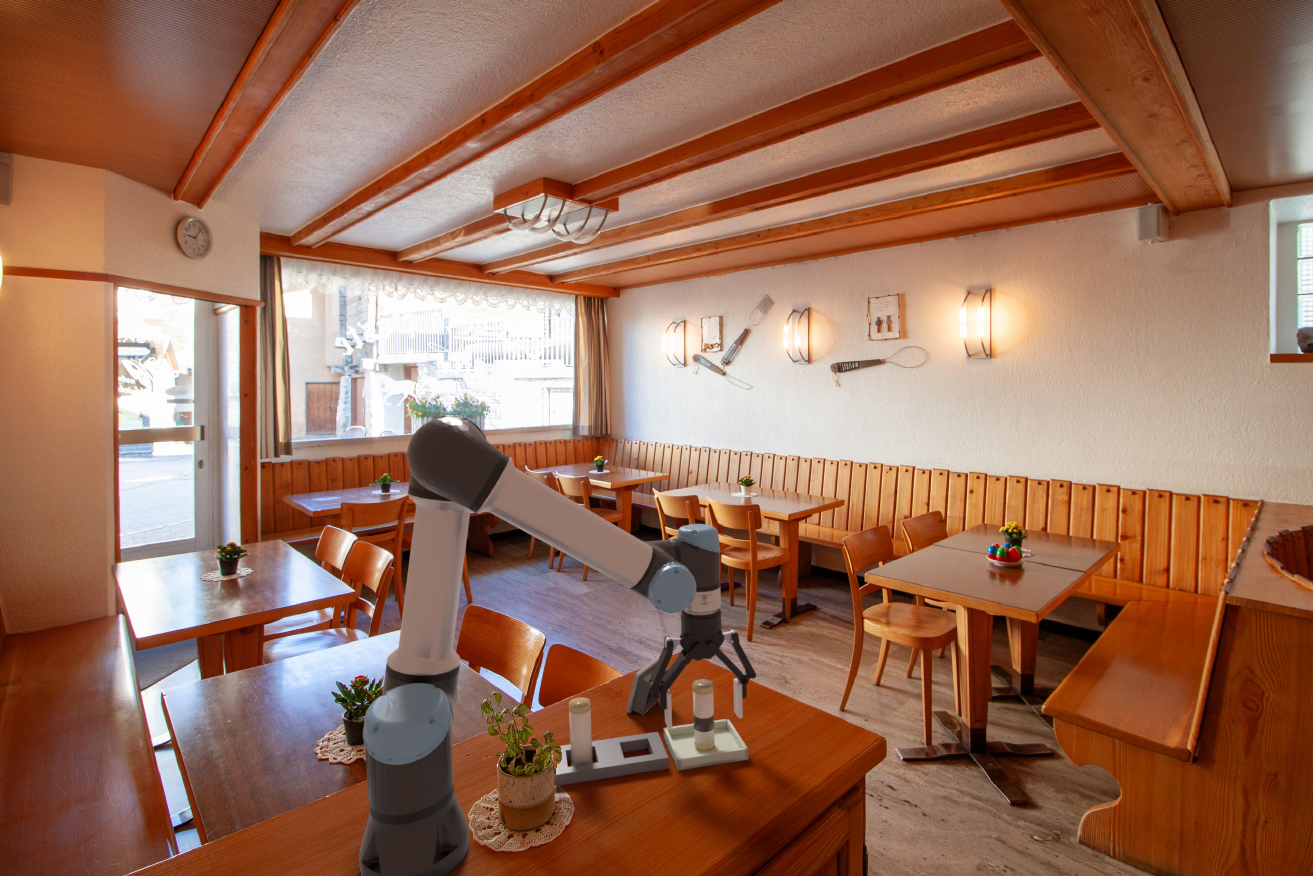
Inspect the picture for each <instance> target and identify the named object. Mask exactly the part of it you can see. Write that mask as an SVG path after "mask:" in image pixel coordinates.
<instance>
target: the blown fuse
mask: <svg viewBox="0 0 1313 876" xmlns="http://www.w3.org/2000/svg"><path fill="white" fill-rule="evenodd" d="M714 703H715V702H714V682H713V681H712V680H710V679H703V678H700V679H696V680H694V681H693V682H692V705H693V706H692V707H693V708H692V709H693V710H692V711H693V712H692V714H693V724H694V747H695V748H696V749H697V750H699V751H710V750H712V749H714V747H715V739H714V721H715V709H714V708H715V707H714Z"/></svg>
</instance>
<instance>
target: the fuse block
mask: <svg viewBox="0 0 1313 876" xmlns="http://www.w3.org/2000/svg"><path fill="white" fill-rule="evenodd" d="M559 746H560V747H561V752H562V760H561V762H560V763H559V764H557V768H556V775H554V784H555V783H556V786H555V787H558V786H563V785H564V786H566V785H570V784H577V783H584V782H590V781H591V782H592V781H598V780H602V779H604V780H605V779H609V778H614V777H622V776H627V775H634V774H641V773H648V772H654V771H661V770H667V769H670V766H669V755H668V754H667V750H666V748H665V746H664V744H663V741H662V738H661V737H660V735H659V731H654V732H653V731H652V732H647V733H641V734H632V735H627V736H620V737H613V738H607V739H605V738H604V739H597V740H593V741H592V758H593V757H594V758H595V761H596V762H593V763H591V764H584V765H577V766H571V765H570V766H568V761H571V744H570V743H569V744H565V745H559ZM647 749H648V752H649V754H644V755H637V756H633V757H632V756H631V757H625V756H624V753H627V752H634V751H641V750H647Z"/></svg>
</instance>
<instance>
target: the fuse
mask: <svg viewBox="0 0 1313 876" xmlns="http://www.w3.org/2000/svg"><path fill="white" fill-rule="evenodd" d="M568 713H569V714H568V715H569V716H568V718H569V720H568V721H569V741H570V743H569V745H570V744H571V760H570V763H571V765H570V767H571V766H577V765H584V764H591V763H594V762H593V757H592V738H593V737H592V716H591V715H592V712H591V700H590V699H589V698H587V697H576V698H575V697H574V698H572V699H571V700H569V701H568Z"/></svg>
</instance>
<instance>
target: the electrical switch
mask: <svg viewBox="0 0 1313 876" xmlns="http://www.w3.org/2000/svg"><path fill="white" fill-rule="evenodd" d="M658 659H659V658H656V657H655V658H654V659H653V660H651V661H650V662H649V663H647V664H646V665H645V666H644V667H642V668H640V669H639V670H638V671H637V672H636V673H635V674H634V676H633V680H632V684H631V689H630V693H629V697H628V700H627V705H626V712H627V713H629V714H631V713H632V712H634V713H637V714H639V715H641V716H644V715H645V714H646V713H647V712H648V711H647V710H649V708H651V706H652V705H654V703H656V702H658V700H659V692H657V691H655V692H653V691H652V690H651V688H650V686H649V684H648V682H649V680H650V677H651V675H652V673H653V671H654V668H655V666H656V664H657V662H658ZM668 670H669V668H668V667H667V668H666V670H665V673H664V675H665V674H666V672H667V671H668ZM664 675H663V677H664ZM663 677H662V678H663ZM658 703H659V702H658ZM656 704H657V703H656ZM654 706H655V705H654ZM651 709H652V708H651ZM646 711H647V712H646ZM649 711H650V710H649ZM645 712H646V713H645ZM644 713H645V714H644Z"/></svg>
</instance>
